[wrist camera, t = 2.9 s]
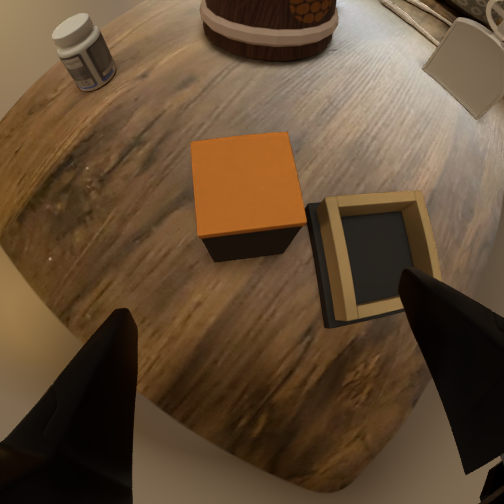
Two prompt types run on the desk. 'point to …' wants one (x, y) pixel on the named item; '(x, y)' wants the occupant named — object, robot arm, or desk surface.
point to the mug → (270, 27)
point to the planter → (475, 9)
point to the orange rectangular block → (246, 195)
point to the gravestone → (471, 62)
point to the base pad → (368, 252)
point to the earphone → (410, 20)
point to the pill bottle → (84, 52)
